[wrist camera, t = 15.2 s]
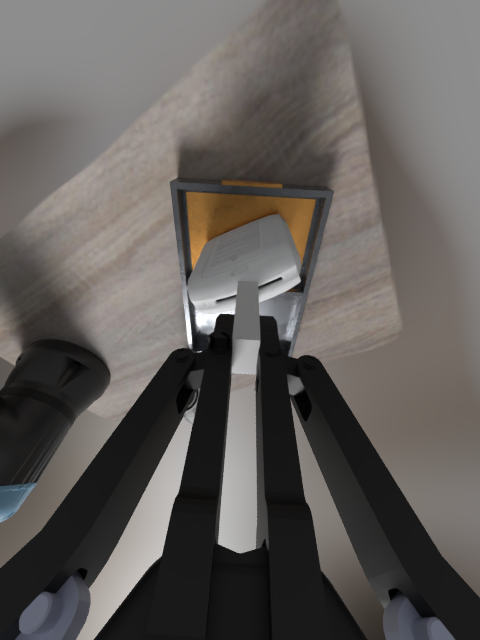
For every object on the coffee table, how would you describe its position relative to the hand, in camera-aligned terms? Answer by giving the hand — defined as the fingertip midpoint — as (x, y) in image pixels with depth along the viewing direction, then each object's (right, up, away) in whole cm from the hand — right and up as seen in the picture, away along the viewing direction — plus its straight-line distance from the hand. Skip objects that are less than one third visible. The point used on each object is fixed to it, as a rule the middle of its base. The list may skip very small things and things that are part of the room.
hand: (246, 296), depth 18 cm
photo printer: (0, +8, +10) cm, 13 cm away
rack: (0, +4, +15) cm, 15 cm away
